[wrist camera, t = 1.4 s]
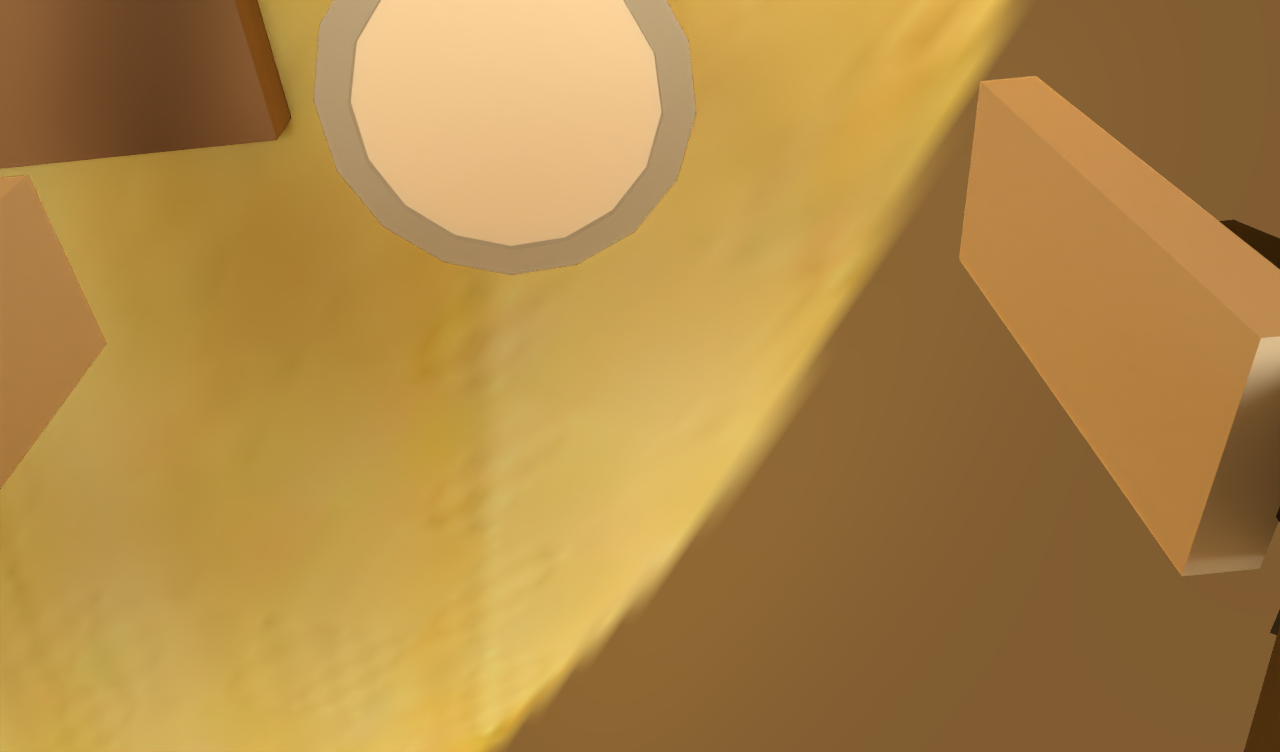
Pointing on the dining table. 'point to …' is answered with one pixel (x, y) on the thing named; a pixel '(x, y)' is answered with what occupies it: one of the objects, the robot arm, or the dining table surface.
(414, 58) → the beige cylinder
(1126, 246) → the robot arm
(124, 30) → the serving board
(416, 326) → the dining table surface
